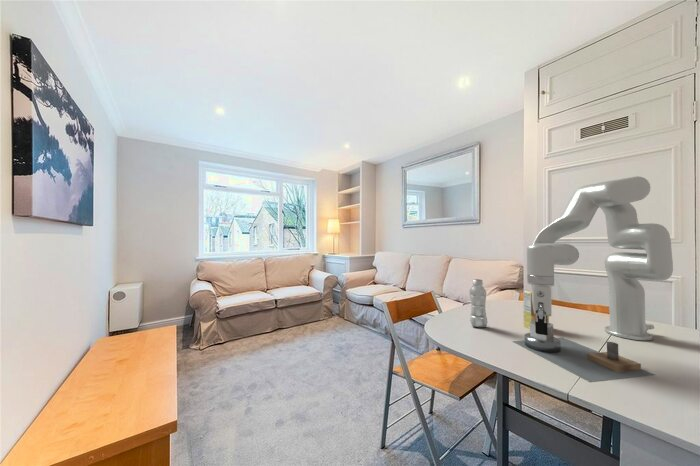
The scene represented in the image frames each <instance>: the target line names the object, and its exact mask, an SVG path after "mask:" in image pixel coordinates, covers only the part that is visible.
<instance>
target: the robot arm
mask: <svg viewBox="0 0 700 466" xmlns="http://www.w3.org/2000/svg"><path fill="white" fill-rule="evenodd" d="M650 192H651V183H650V182H649V180H648V179H646V178H645V177H642V176H638V175H636V176H631V177H625V178H620V179H613V180H607V181H602V182H597V183H592V184H586V185H583V186H579V187H577V189H575V191H573V194H572V195H571V197H570V199H569V201H568V203H567V205H566V206H565V209H564V210H563V212H562V213H561V215H560V217H559V218H557V219H555V220H553V221H552V222H551V223H549V224H548V225H547V226H546V227H544V228H543V229H542V230H540V231H539V233H537V235H536V237H535V238H534V241H532V244H528V245H527V247H526V272H527V273H526V278H527V284H528V285H530V286H531V291H532V303H533V311H534V314H536V321H535V331H536V334H541V335H548V330H547V323H546V322H547V315H549V317H552V314H553V313H552V306H553V305H552V288H551V287H554V286H555V266H556V265H557V266H570V265H573V264H575V263H576V262H577V261H578V260H579V258H580V252H579V250H578V248H577V247H576V246H574V245H572V244H570V243H559V242H557V241H558V240H559V239H561V238H564V237H566V236H569V235H572V234H575V233H578V232H580V231H582V230H584V229H587V228H588V227H589V226H590V224H591V222H592V220H593V218H594V217H595V214H596V213H597V210H598V209H599V208H600V209H601V211H602V212H603V213H604V216H605V224H606V235H607V236H606V237H607V243H608V244H609V246H610V247H612V248H614V249H619V250H643V251H645V252H646V253H645V252H626V251H621V252H612V253H609V254H608V255H607V256H606V257H605V259H604V268H605V271H606V275H607V280H608V281H607V282H608V295H609V296H608V303H609V306H608V307H609V309H608V311H609V325H608V326H604V331H605V332H606V333H608V334H610V335H612V336H616V337H619V338H624V339H629V340H634V341H652V340H653V335H652V334H651V333H649V332H648V330H654V329H655V326H654V324H653V323H652V324H651V323H646V298H645V297H646V294H645V293H646V292H645V288H644V286H643V285H642V283H641V282H640V281H639V279H640V280H647V281H648V280H649V281H661V282H662V281H667V280H668V279H670V278H671V277H672V275H673V271H674V263H673V252H672V242H671V241H672V240H671V235H670V232H669V230H668V229H667V227H665V226H664V225H662V224H659V223H654V222H653V223H639V218H638V213H637V210H636V208H635V207H634V205H632V203H633V202H639V201H642V200H644V199H645V198H647V196H648V195H649V194H650ZM556 242H557V243H556ZM546 314H547V315H546Z"/></svg>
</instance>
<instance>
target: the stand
mask: <svg viewBox="0 0 700 466" xmlns="http://www.w3.org/2000/svg"><path fill="white" fill-rule="evenodd" d="M599 352H600V351H599ZM587 359H589V360H591V361H593V362H596V363H598V364H600V365H602V366H605V367H607V368H609V369H611V370H614V371H616V372H623V371H632V370H641V369H642V365H641V364H642V363H639V362H637V361H634V360H632V359H629V358H626V357H624V356H621V355H619V343H617V342H614V341H606V351H602V352H600V353H589V354H587Z"/></svg>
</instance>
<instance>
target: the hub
mask: <svg viewBox="0 0 700 466" xmlns="http://www.w3.org/2000/svg"><path fill="white" fill-rule="evenodd" d="M558 338H559V337H555V336H554V342H543V341H538V340H535V339H533V338H531V337H530V332H526V333H525V334H524V340H525V345H526V346H527V347H528V348H530V349H533V350H536V351H539V352H544V353H559V352H560V351H561V341H560V340H559V339H558Z"/></svg>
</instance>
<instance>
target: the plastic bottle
mask: <svg viewBox="0 0 700 466" xmlns="http://www.w3.org/2000/svg"><path fill="white" fill-rule="evenodd" d="M483 283H484V282H483V279H478V278H477V279H476V278H475V279H472V286H471V287H470V288H469V296H470V297H469V298H470V303H471V305H470V307H471V309H470V310H471V311H470V312H471V313H470V318H469V321H470V324H471V326H472V327H474V328H480V329H481V328H482V329H484V328H487V326H488V317H487V312H486V301H487V300H486V299H487V290H486V289H485V287H484V284H483Z"/></svg>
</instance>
